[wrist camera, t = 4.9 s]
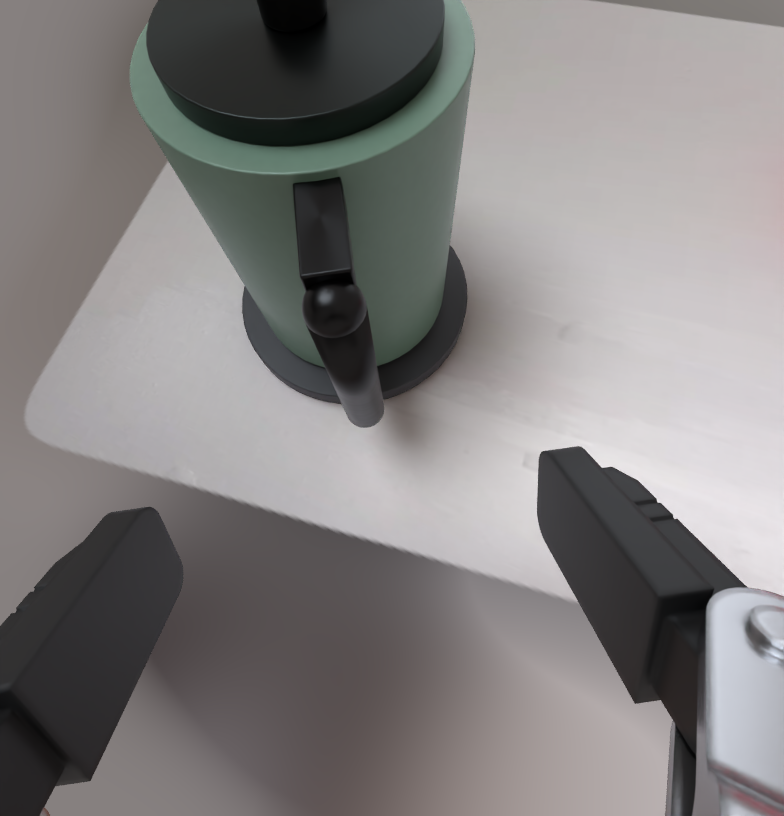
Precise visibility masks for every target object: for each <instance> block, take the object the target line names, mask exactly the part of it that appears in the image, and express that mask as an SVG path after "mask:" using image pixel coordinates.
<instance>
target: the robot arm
mask: <svg viewBox="0 0 784 816" xmlns="http://www.w3.org/2000/svg"><path fill="white" fill-rule="evenodd" d="M537 516H538V522H539V527H540V530H541V533H542V536H543V538H544V541H545V543H546V544H547V546H548V548H549V550H550V552H551V553H552V555H553V557H554V559H555V561H556V562H557V564H558V566H559V568H560V570H561V571H562V573H563V575H564V577H565V579H566V580H567V582H568V584H569V586H570V588H571V589H572V591H573V593H574V595H575V597H576V598H577V600H578V602H579V604H580V606H581V607H582V609H583V611H584V613H585V614H586V616H587V618H588V620H589V622H590V623H591V625H592V627H593V629H594V631H595V632H596V634H597V636H598V638H599V640H600V641H601V643H602V645H603V647H604V648H605V650H606V652H607V654H608V656H609V658H610V659H611V661H612V663H613V665H614V667H615V668H616V670H617V672H618V674H619V676H620V677H621V679H622V681H623V683H624V685H625V686H626V688H627V690H628V692H629V694H630V695H631V697H632V699H633V701H634V703H635V704H636V703H643V702H649V701H657V700H661V701H662V703H663V704H664V706H665V708H666V709H667V711H668V713H669V714H670V716H671V717H672V719H673V722H672V726H671V734H670V748H669V764H668V765H669V766H668V780H667V797H666V813H665V816H784V596H781V595H778V594H775V593H772V592H768V591H764V590H760V589H754V588H748V587H747V586H745V585H744V584H743V583H742V582H741V581H740V580H739V579H738V578H737V577H736V576H735V575H734V574H733V573H732V572H731V571H730V570H729V569H728V568H727V567H726V566H725V565H724V564H723V563H722V562H721V561H720V560H719V559H718V558H717V557H716V556H715V555H714V554H713V553H712V552H710V551H709V550H708V549H707V548H706V547H705V546H704V545H703V544H702V543H701V542H700V541H699V540H698V539H697V538H696V537H695V536H694V535H693V534H692V533H691V532H690V531H689V530H688V529H687V528H686V527H685V526H684V525H683V524H682V523H681V522H680V521H679V520H678V519H674V518H673V514H671V513H670V512H669V511H668V510H667V509H666V508H665V507H664V506H663V505H662V504H661V503H657V500H656V498H655V497H654V496H653V495H652V494H651V493H650V492H649V491H648V490H647V489H646V488H645V487H644V486H643V485H642V484H641V483H640V482H639V481H638V480H636V479H634V478H632V477H630V476H628V475H626V474H624V473H623V472H621V471H619V470H617V469H615V468H613V467H606V468H601V467H600V465H599V464H598V463H597V462H596V461H595V460H594V459H593V458H592V457H591V456H590V455H589V454H588V453H587V452H586V451H585V450H584V449H583V448H582V447H579V446H577V447H570V448H563V449H556V450H549V451H543V452H541V454H540V457H539V468H538V498H537ZM182 583H183V566H182V562H181V560H180V558H179V555H178V553H177V551H176V549H175V547H174V545H173V542H172V540H171V538H170V536H169V534H168V532H167V530H166V527H165V525H164V523H163V521H162V519H161V517H160V515H159V513H158V512H157V511H156V510H155V509H154V508H152V507H144V508H137V509H131V510H124V511H118V512H117V511H116V512H111V513H109V514H107V515H106V516H105V517H104V518H103V519H102V520H101V521H100V523H99V524H98V525H97V526H96V527H95V528H94V529H93V531H92V532H91V533H90V535H88V537H87V538H86V539H85V540H84V541H83V542H82V543H81V544H79V545H78V546H77V547H75V548H74V549H73V550H72V551H70V552H69V553H68V554H66V555H65V556H64V557H62V558H61V559H60V560H59V561H57V562H56V563H55V564H54V565H53V566H52V568H51V569H50V570H49V571H48V572H47V573H46V574H45V575H44V577H43V578H42V579H41V580H40V581H39V582H38V583H37V585H36V586H35V587H34V588H35V590H34V592H30V593H29V594H28V595H27V596H26V597H25V598H24V600H23V601H22V602H21V603H20V604H19V605H18V607H17V608H16V609H17V611H16V613H12V614H10V616H9V617H8V618H7V619H6V620H5V621H4V623H3V624H2V625H1V626H0V816H50V814H49V813H48V811H47V810H46V809H45V808H44V806H45V804H46V802H47V800H48V799H49V796H50V795H51V793H52V791H53V789H54V787H55V786H59V785H67V784H74V783H80V782H87V781H91V778H92V776H93V774H94V772H95V770H96V768H97V766H98V764H99V761H100V759H101V757H102V755H103V753H104V751H105V749H106V747H107V745H108V743H109V741H110V738H111V736H112V734H113V732H114V730H115V728H116V726H117V724H118V722H119V719H120V717H121V715H122V713H123V711H124V709H125V707H126V705H127V703H128V701H129V698H130V697H131V694H132V692H133V690H134V688H135V686H136V684H137V682H138V679H139V678H140V675H141V673H142V671H143V669H144V667H145V665H146V663H147V661H148V659H149V656H150V654H151V652H152V650H153V648H154V646H155V644H156V642H157V640H158V638H159V636H160V633H161V631H162V629H163V627H164V625H165V623H166V620H167V618H168V616H169V615H170V612H171V610H172V608H173V606H174V604H175V602H176V600H177V598H178V596H179V593H180V591H181V588H182Z"/></svg>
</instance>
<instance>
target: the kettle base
mask: <svg viewBox="0 0 784 816" xmlns="http://www.w3.org/2000/svg"><path fill="white" fill-rule="evenodd" d="M466 306H467V284H466V279H465V275H464V271H463V268H462V266H461V263H460V261H459V259H458V257H457V255H456V253H455V252H454V250H453V248H452V247H451V246H449V254H448V261H447V269H446V277H445V284H444V292H443V299H442V304H441V308H440V311H439V314H438V316H437V318H436V320H435V322H434V324H433V326H432V327H431V329H430V330H429V332H428V333H427V335H426V336H425V337H424V338H423V339H422V340H421V341H420V342H419V343H418V344H417V345H416V346H414V347H413V348H412V349H411V350H410V351H408V352H407V353H405V354H403V355H402V356H400V357H399V358H397V359H394V360H392V361H390V362H388V363H385V364H382V365H379V366H377V368H378V373H379V379H380V385H381V391H382V397H383V399H387V398H390V397H393V396H395V395H398V394H401V393H403V392H405V391H407V390H409V389H411V388H413V387H414V386H416V385H418V384H419V383H421V382H422V381H423V380H425V379H426V378H428V377H429V376H430V375H431V374H432V373H433V372H434V371H435V370H437V369H438V368H439V367H440V366H441V364H442V363H443V362H444V361H445V359H446V358H447V357H448V356H449V354H450V352H451V351H452V349H453V347H454V346H455V344H456V342H457V339H458V337H459V335H460V332H461V329H462V325H463V321H464V317H465V313H466ZM242 313H243V319H244V325H245V329H246V332H247V335H248V338H249V340H250V342H251V344H252V346H253V348H254V350H255V351H256V352H257V354H258V355H259V357H260V358H261V359H262V361H263V362H264V363H265V365H266V366H267V367H268V368H269V369H270V370H271V372H272V373H273V374H274V375H275V376H276V377H277V378H279V379H280V380H281V381H283V382H284V383H285V384H286V385H288V386H289V387H291V388H293V389H295V390H296V391H298V392H300V393H302V394H305V395H307V396H310V397H312V398H316V399H319V400H323V401H327V402H334V403H341V401H340V399H339V397H338V394H337V392H336V390H335V388H334V386H333V383H332V381H331V379H330V377H329V375H328V372H327V370H326V368H325V367H322V366H318V365H315V364H312V363H310V362H308V361H306V360H303V359H302V358H300V357H299V356H297V355H295V354H294V353H292V352H291V351H290V350H289V349H288V348H286V347H285V346H284V345H283V344H282V342H281V341H280V340H279V339H278V338H277V336H276V335H275V333H274V332H273V330H272V329H271V327H270V325H269V324H268V322H267V321H266V319H265V317H264V316H263V314H262V312H261V311H260V309H259V308H258V306H257V304H256V303H255V301H254V299H253V298H252V296H251V295H250V293H249V291H248V290H247V288H246V286H245V287H244V293H243V309H242Z"/></svg>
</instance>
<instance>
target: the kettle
mask: <svg viewBox="0 0 784 816" xmlns="http://www.w3.org/2000/svg"><path fill="white" fill-rule="evenodd" d="M474 55H475V35H474V31H473V26H472V22H471V19H470V16H469V14H468V12H467V10H466V7H465V6H464V4H463V3H462V1H461V0H158V2H157V3H156V5H155V7H154V8H153V11H152V13H151V16H150V19H149V21H148V23H147V25H146V26H145V28H144V30H143V31H142V33H141V35H140V36H139V39H138V41H137V43H136V46H135V49H134V51H133V54H132V59H131V64H130V86H131V91H132V96H133V100H134V102H135V104H136V107H137V109H138V112H139V114H140V115H141V117H142V119H143V120H144V122H145V123H146V125H147V127H148V128H149V130H150V132H151V133H152V135H153V137H154V138H155V140H156V141H157V143H158V145H159V146H160V148H161V150H162V151H163V153H164V155H165V156H166V158H167V159H168V161H169V163H170V164H171V166H172V168H173V169H174V171H175V172H176V174H177V176H178V177H179V179H180V181H181V182H182V184H183V185H184V187H185V189H186V190H187V192H188V194H189V195H190V197H191V198H192V200H193V202H194V203H195V205H196V207H197V208H198V210H199V212H200V213H201V215H202V216H203V218H204V220H205V221H206V223H207V225H208V226H209V228H210V229H211V231H212V233H213V234H214V236H215V238H216V239H217V241H218V242H219V244H220V246H221V247H222V249H223V251H224V252H225V254H226V255H227V257H228V259H229V260H230V262H231V264H232V265H233V267H234V268H235V270H236V272H237V273H238V275H239V277H240V278H241V280H242V282H243V283H244V285H245V286H246V288H247V290H248V291H249V293H250V295H251V296H252V298H253V299H254V301H255V303H256V304H257V306H258V308H259V309H260V311H261V312H262V314H263V316H264V317H265V319H266V321H267V322H268V324H269V325H270V327H271V329H272V330H273V332H274V333H275V335H276V336H277V338H278V339H279V340H280V341H281V342H282V344H283V345H284V346H285V347H286V348H288V349H289V350H290V351H291V352H292V353H294V354H295V355H297V356H299V357H300V358H302V359H303V360H306V361H308V362H310V363H312V364H315V365H318V366H322V367H325V368H326V370H327V372H328V375H329V377H330V379H331V381H332V383H333V386H334V388H335V390H336V392H337V394H338V397H339V399H340V401H341V403H342V406H343V408H344V410H345V412H346V414H347V417H348V418H349V420H350V421H351V422H352V423H353V424H354V425H356V426H358V427H363V428H367V427H371V426H374V425H375V424H377V423H378V422H379V421H380V420H381V418H382V416H383V414H384V403H383V397H382V391H381V385H380V379H379V373H378V368H377V366H379V365H382V364H385V363H388V362H390V361H392V360H394V359H397V358H399V357H400V356H402V355H403V354H405V353H407V352H408V351H410V350H411V349H412V348H413V347H414V346H416V345H417V344H418V343H419V342H420V341H421V340H422V339H423V338H424V337H425V336H426V335H427V333H428V332H429V330H430V329H431V327H432V326H433V324H434V322H435V320H436V318H437V316H438V314H439V311H440V308H441V304H442V299H443V292H444V284H445V277H446V269H447V261H448V254H449V246H450V238H451V231H452V223H453V216H454V208H455V200H456V193H457V185H458V177H459V170H460V162H461V154H462V147H463V139H464V131H465V124H466V116H467V109H468V101H469V93H470V86H471V78H472V70H473V63H474Z"/></svg>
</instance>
